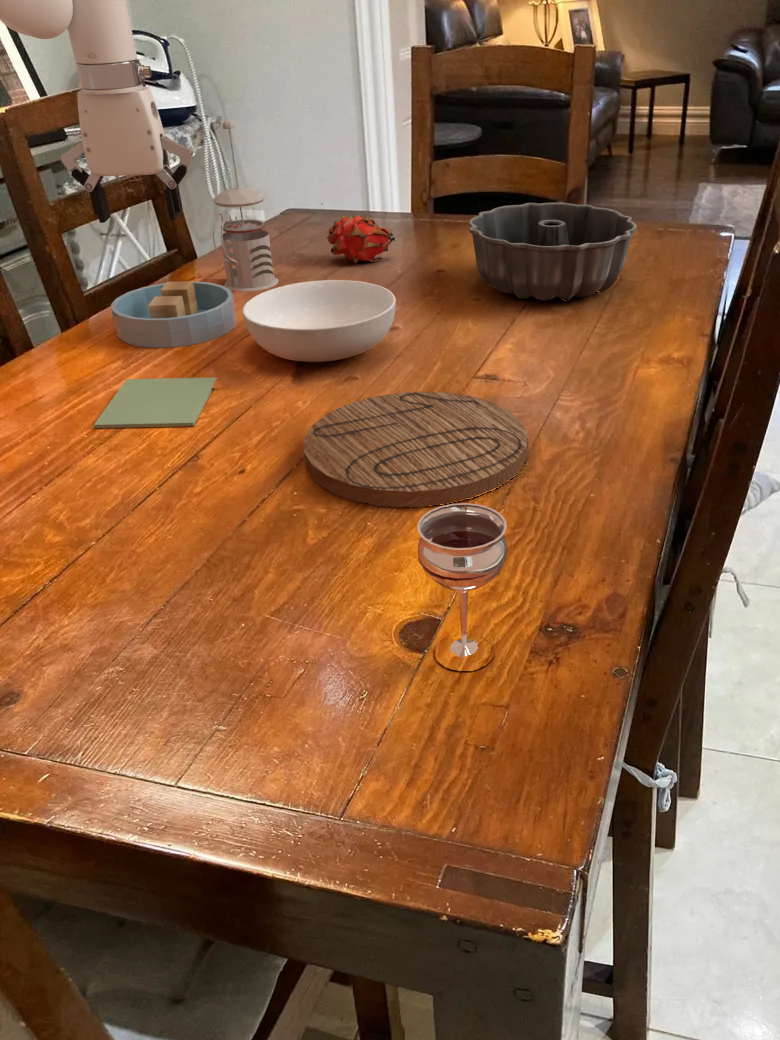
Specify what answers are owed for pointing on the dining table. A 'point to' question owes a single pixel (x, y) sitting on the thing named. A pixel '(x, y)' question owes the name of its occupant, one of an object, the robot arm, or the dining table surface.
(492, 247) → the bundt pan
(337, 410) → the trivet
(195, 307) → the block back
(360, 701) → the dining table surface
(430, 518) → the wineglass
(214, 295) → the pan
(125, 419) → the mat
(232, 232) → the french press
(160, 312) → the block front
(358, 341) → the serving bowl
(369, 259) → the dragon fruit
